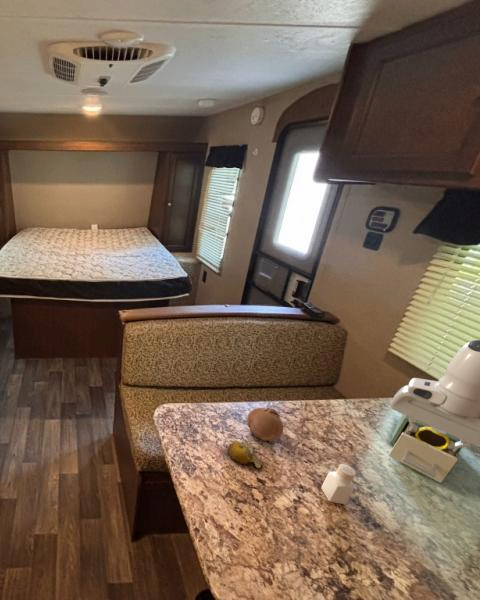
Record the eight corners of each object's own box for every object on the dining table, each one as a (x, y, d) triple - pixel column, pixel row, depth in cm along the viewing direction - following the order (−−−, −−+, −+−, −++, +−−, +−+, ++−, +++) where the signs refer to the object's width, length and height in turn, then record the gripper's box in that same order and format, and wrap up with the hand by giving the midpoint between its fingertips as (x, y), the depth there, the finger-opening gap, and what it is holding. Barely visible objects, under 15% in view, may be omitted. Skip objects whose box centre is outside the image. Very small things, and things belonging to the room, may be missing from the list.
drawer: (438, 494, 79) (456, 471, 76) (384, 464, 86) (398, 442, 83) (445, 456, 90) (461, 434, 87) (397, 433, 97) (409, 412, 94)
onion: (261, 434, 99) (277, 407, 98) (280, 453, 90) (297, 423, 89) (235, 423, 99) (250, 395, 98) (251, 440, 90) (268, 410, 88)
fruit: (264, 470, 84) (268, 460, 83) (234, 468, 84) (237, 459, 83) (250, 444, 92) (253, 435, 90) (221, 443, 92) (224, 434, 90)
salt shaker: (328, 502, 77) (343, 475, 73) (319, 487, 80) (333, 461, 77) (346, 505, 76) (362, 478, 72) (336, 489, 80) (351, 463, 76)
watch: (411, 441, 87) (421, 425, 84) (412, 436, 88) (422, 420, 86) (442, 455, 83) (454, 439, 80) (442, 450, 84) (454, 433, 82)
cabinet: (445, 470, 87) (464, 444, 82) (389, 443, 95) (405, 417, 91) (449, 444, 95) (467, 419, 91) (398, 421, 103) (412, 397, 99)
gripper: (523, 418, 74) (490, 460, 79) (405, 374, 88) (384, 412, 94) (525, 431, 70) (489, 474, 75) (401, 383, 84) (379, 422, 90)
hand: (430, 439), depth 85 cm, fingers closed on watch, 6 cm apart
